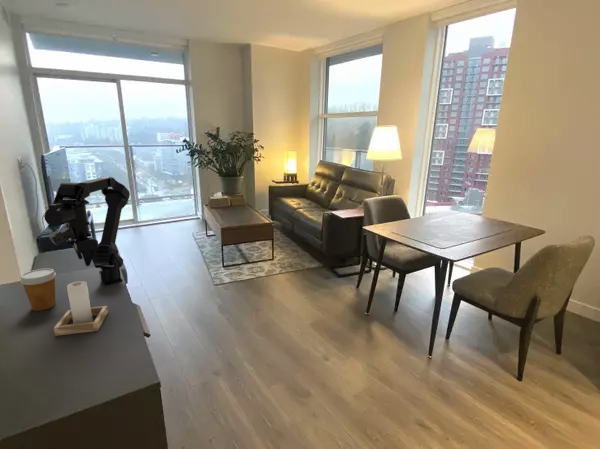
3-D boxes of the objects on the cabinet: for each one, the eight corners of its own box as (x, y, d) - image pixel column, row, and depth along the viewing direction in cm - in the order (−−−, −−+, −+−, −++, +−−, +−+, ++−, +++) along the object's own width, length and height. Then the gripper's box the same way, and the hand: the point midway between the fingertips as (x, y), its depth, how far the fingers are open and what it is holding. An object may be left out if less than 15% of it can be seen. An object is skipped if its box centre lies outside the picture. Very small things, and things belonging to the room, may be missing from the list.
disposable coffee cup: (67, 300, 117) (62, 268, 114) (45, 314, 108) (38, 279, 105) (42, 299, 118) (36, 267, 115) (18, 312, 108) (10, 278, 105)
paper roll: (90, 317, 106) (84, 279, 103) (94, 323, 103) (88, 283, 99) (71, 323, 102) (64, 283, 99) (76, 329, 99) (68, 289, 96)
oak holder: (69, 316, 106) (68, 309, 105) (108, 312, 109) (107, 305, 108) (55, 335, 96) (53, 328, 95) (97, 330, 99) (96, 323, 98)
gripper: (43, 218, 114) (50, 261, 118) (54, 228, 101) (62, 276, 105) (80, 213, 122) (86, 254, 125) (95, 222, 109) (102, 267, 113)
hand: (84, 262), depth 117 cm, fingers open, 9 cm apart
